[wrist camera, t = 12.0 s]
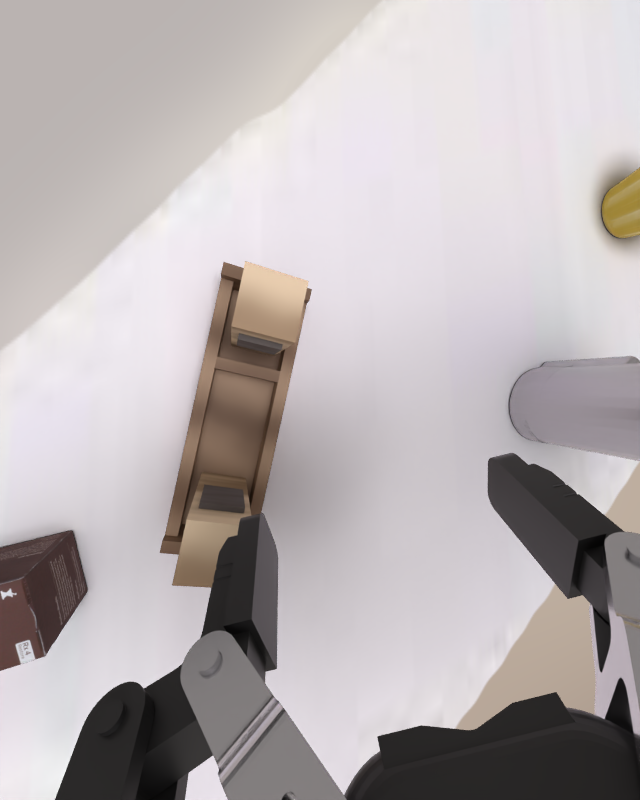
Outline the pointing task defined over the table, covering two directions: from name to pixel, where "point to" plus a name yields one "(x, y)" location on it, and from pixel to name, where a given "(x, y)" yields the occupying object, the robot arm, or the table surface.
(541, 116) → the table surface
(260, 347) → the block
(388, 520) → the table surface
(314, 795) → the robot arm
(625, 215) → the plant pot
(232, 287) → the rail
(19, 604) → the box
